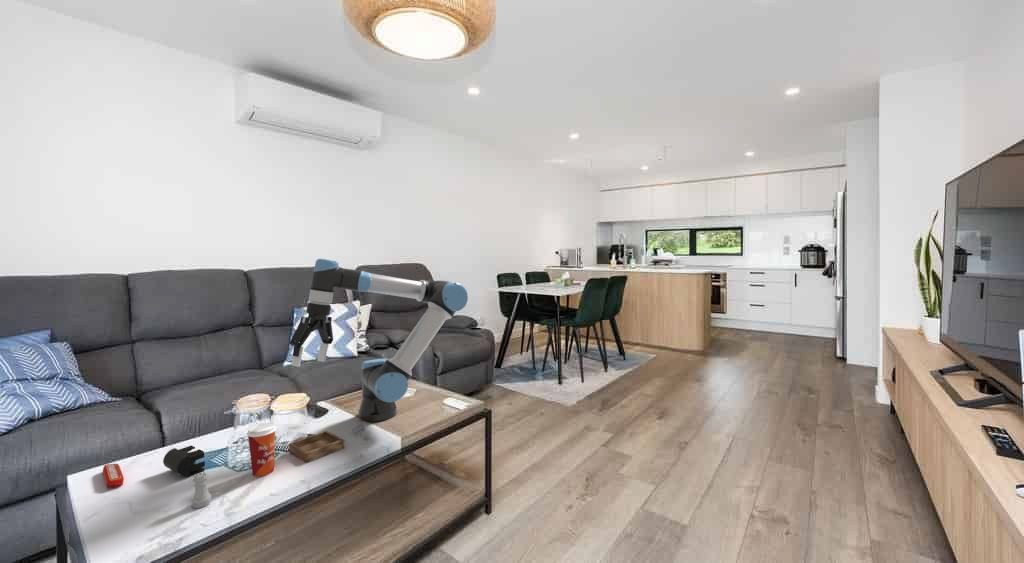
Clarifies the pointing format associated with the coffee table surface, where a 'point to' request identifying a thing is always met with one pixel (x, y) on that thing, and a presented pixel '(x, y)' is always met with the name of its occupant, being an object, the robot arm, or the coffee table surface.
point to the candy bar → (113, 475)
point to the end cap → (184, 461)
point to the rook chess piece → (201, 491)
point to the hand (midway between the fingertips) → (308, 363)
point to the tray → (316, 446)
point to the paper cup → (262, 448)
